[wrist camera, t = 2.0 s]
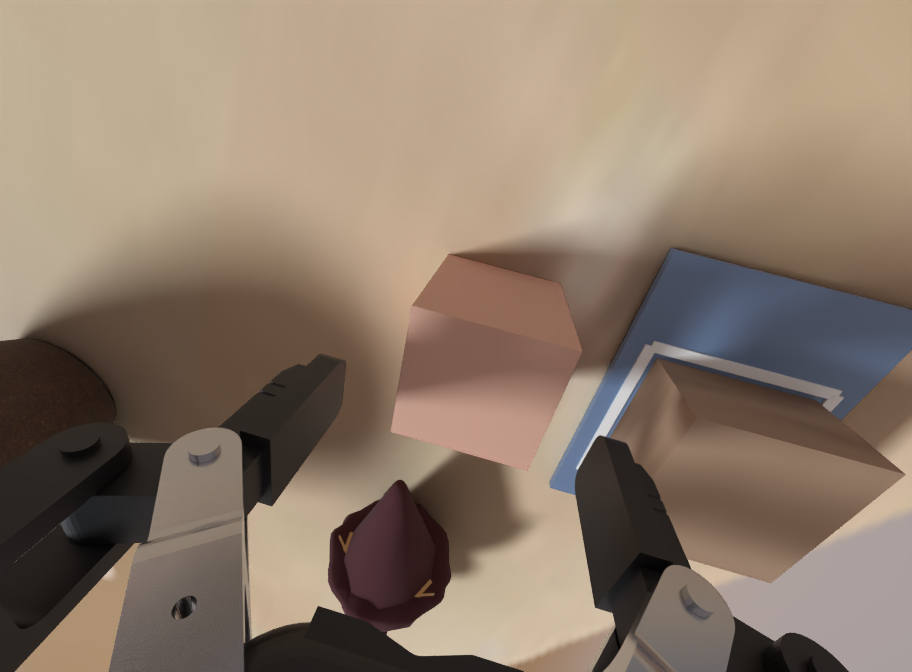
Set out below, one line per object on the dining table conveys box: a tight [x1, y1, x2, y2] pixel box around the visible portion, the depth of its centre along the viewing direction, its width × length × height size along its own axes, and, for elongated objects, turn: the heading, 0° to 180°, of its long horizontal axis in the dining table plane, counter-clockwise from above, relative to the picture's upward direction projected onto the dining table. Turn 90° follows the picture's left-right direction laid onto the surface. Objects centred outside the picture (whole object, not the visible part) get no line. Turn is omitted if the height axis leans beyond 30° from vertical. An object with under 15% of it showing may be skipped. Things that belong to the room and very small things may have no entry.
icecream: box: [328, 480, 451, 635], centre depth 21 cm, size 7×7×15 cm
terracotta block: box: [390, 254, 583, 471], centre depth 14 cm, size 5×5×6 cm
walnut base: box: [610, 358, 906, 583], centre depth 15 cm, size 7×7×4 cm
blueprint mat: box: [550, 248, 912, 495], centre depth 17 cm, size 14×10×1 cm
